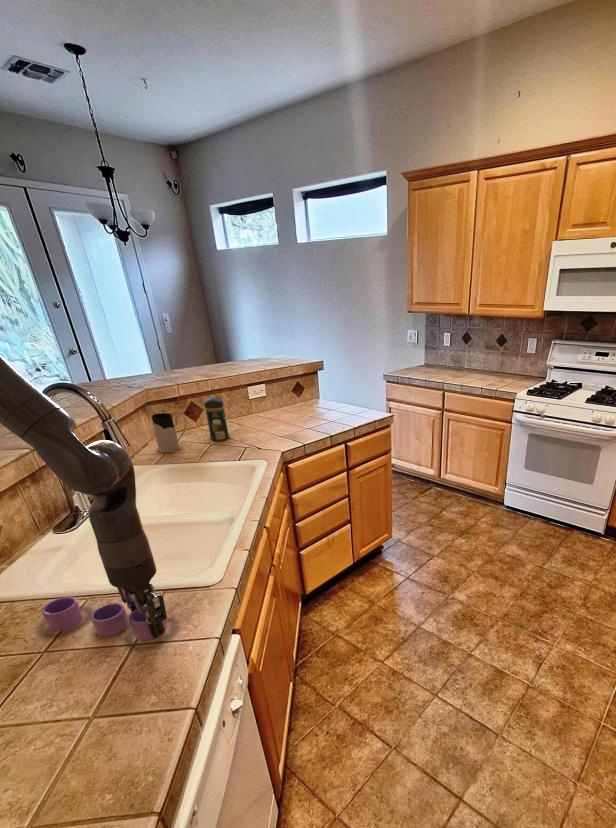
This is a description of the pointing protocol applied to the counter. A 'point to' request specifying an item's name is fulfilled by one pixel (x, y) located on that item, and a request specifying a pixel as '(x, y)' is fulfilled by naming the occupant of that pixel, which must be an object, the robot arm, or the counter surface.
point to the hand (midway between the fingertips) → (150, 628)
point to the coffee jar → (216, 418)
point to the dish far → (141, 625)
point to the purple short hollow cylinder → (62, 614)
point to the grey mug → (166, 432)
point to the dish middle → (110, 619)
